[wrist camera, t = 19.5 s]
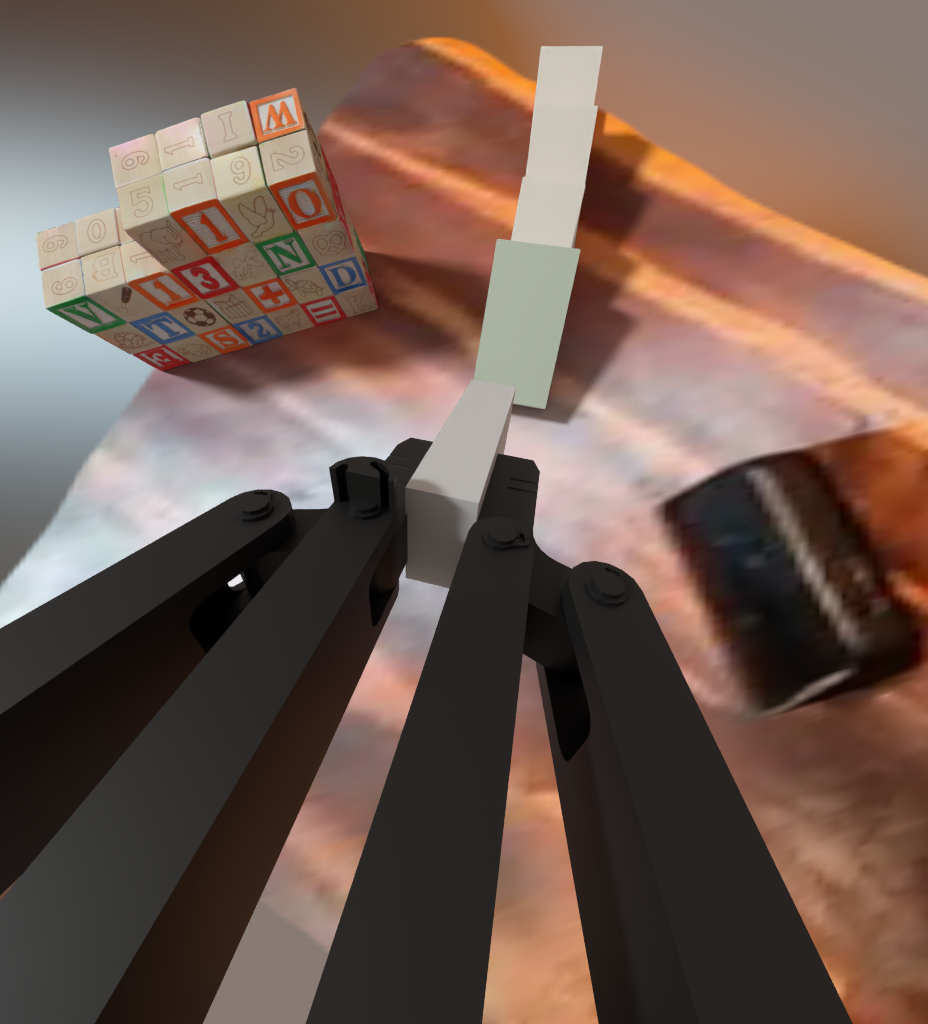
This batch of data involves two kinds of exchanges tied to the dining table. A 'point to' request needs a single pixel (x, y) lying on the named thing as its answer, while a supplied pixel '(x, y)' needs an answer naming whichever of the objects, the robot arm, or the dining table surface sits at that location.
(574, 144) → the domino
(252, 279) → the stack of blocks
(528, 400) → the sage domino
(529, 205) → the domino
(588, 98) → the domino
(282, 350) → the dining table surface
